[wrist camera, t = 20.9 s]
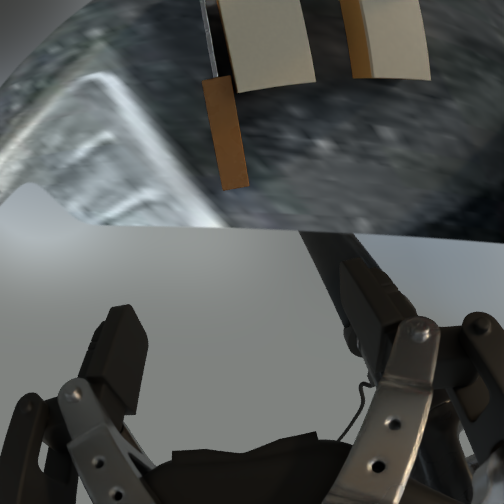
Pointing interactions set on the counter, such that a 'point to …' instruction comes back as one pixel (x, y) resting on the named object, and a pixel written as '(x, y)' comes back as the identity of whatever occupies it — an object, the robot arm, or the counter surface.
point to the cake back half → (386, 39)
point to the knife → (223, 121)
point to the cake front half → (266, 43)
